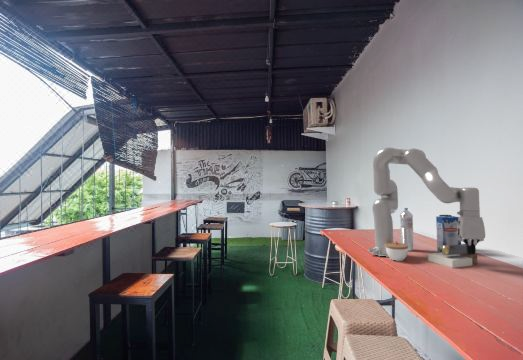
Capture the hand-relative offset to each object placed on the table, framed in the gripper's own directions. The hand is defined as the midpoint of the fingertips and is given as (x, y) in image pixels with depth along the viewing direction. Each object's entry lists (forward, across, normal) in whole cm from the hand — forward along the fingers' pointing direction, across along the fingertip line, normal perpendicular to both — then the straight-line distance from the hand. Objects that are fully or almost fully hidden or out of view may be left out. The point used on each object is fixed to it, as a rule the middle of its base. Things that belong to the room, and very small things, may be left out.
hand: (471, 253), depth 135 cm
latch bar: (+2, -3, +7) cm, 8 cm away
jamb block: (+7, +4, +9) cm, 11 cm away
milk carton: (+7, +6, +32) cm, 34 cm away
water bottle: (+7, -15, +37) cm, 40 cm away
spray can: (+7, +9, +41) cm, 43 cm away
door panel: (+7, -6, +8) cm, 12 cm away
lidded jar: (+7, -28, +14) cm, 33 cm away
